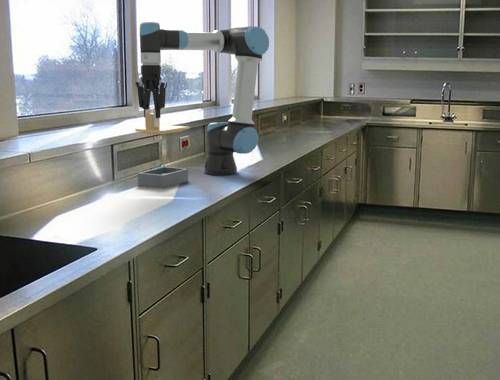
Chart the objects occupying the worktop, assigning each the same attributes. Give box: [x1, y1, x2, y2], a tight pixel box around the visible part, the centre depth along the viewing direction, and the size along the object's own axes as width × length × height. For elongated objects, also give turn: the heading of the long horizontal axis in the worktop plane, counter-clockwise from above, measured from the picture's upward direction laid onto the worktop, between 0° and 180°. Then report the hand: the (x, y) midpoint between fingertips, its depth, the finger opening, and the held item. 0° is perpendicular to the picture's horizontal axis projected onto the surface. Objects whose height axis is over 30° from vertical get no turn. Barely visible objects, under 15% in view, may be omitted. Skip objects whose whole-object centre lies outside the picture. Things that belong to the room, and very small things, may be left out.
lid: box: [135, 112, 191, 135], centre depth 232 cm, size 19×13×8 cm
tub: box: [137, 166, 189, 190], centre depth 237 cm, size 18×12×6 cm, turn 153°
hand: (152, 126), depth 227 cm, fingers closed on lid, 3 cm apart
